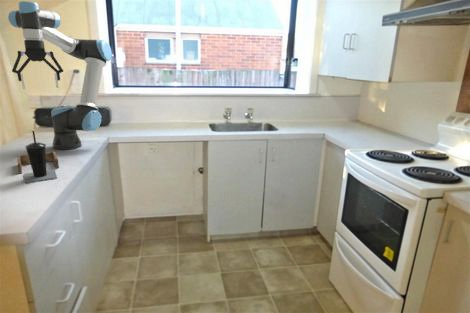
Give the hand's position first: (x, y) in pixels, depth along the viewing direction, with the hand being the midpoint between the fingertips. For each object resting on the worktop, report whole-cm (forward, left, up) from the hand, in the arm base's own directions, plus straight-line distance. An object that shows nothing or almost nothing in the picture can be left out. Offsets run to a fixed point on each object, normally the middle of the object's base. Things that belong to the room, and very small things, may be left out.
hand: (41, 88), depth 151 cm
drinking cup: (+6, +19, -36) cm, 41 cm away
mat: (+6, +19, -37) cm, 42 cm away
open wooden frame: (+6, +3, -37) cm, 37 cm away
